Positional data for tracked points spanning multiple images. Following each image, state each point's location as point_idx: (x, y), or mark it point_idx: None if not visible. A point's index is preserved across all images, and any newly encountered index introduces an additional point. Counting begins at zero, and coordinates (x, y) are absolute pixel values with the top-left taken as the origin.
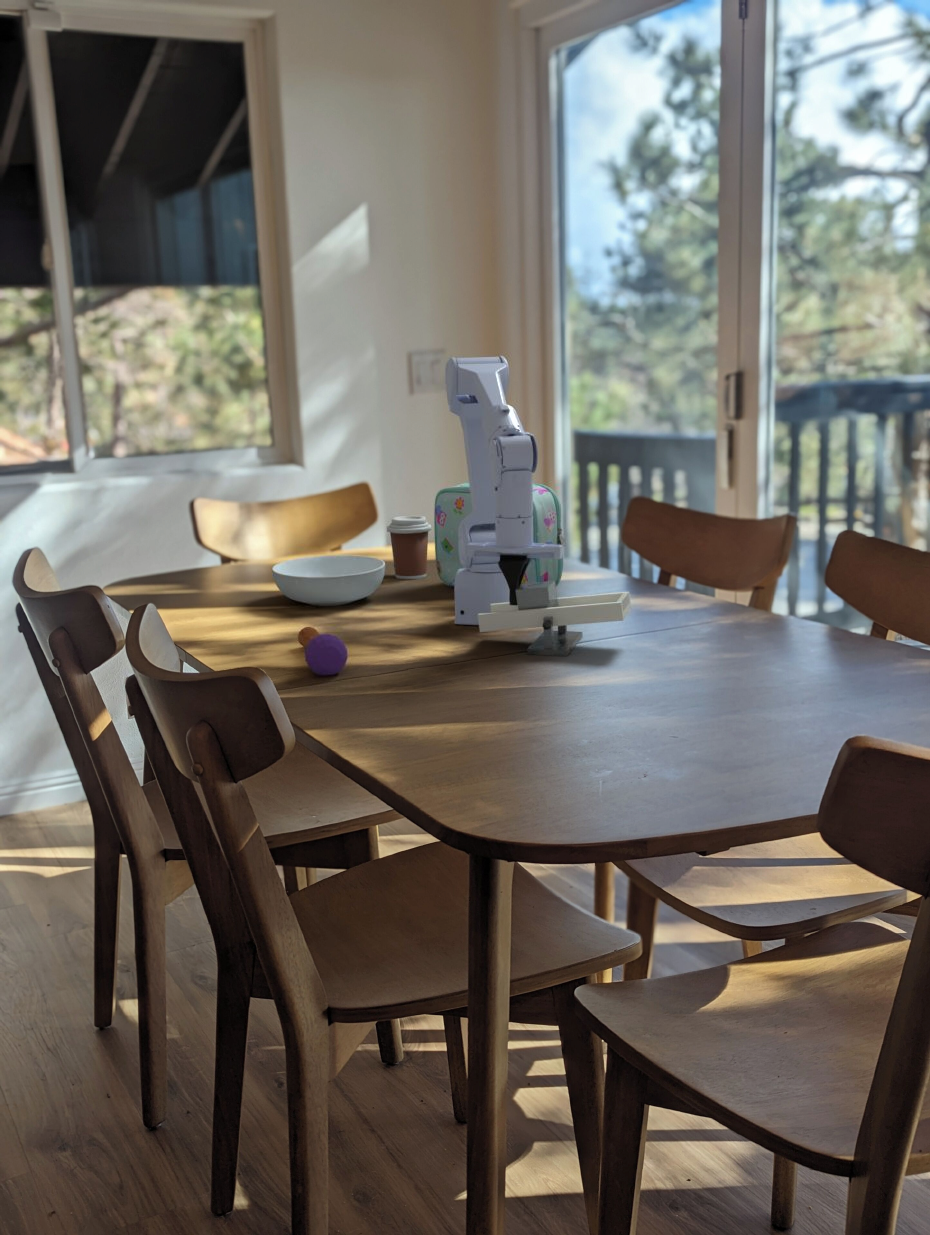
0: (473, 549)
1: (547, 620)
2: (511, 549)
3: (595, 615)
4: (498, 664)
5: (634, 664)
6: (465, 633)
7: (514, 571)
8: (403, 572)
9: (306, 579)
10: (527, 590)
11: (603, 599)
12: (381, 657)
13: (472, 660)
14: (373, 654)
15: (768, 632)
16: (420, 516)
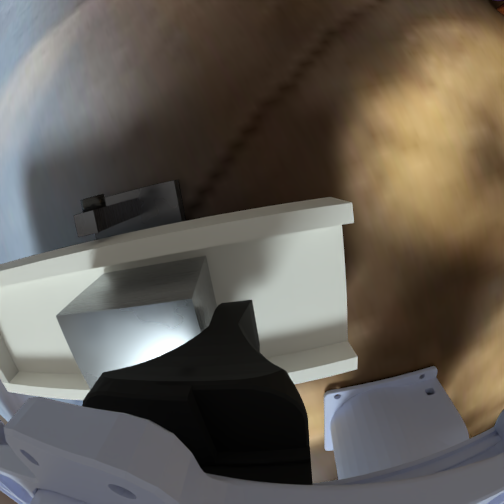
0: None
1: (86, 211)
2: (9, 426)
3: (4, 265)
4: (208, 68)
5: (2, 200)
6: (403, 318)
7: (170, 364)
8: None
9: None
10: (135, 303)
11: (43, 380)
12: (476, 72)
13: (288, 77)
14: (496, 93)
15: (3, 394)
16: None
